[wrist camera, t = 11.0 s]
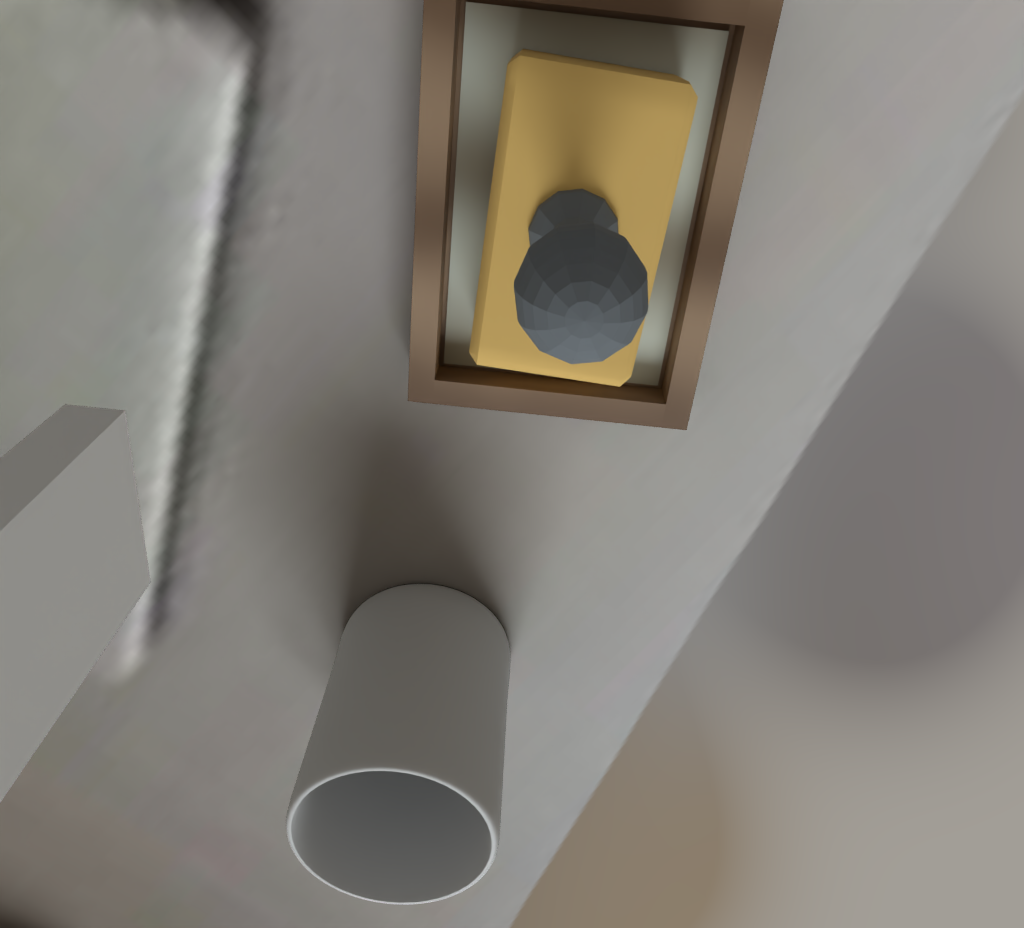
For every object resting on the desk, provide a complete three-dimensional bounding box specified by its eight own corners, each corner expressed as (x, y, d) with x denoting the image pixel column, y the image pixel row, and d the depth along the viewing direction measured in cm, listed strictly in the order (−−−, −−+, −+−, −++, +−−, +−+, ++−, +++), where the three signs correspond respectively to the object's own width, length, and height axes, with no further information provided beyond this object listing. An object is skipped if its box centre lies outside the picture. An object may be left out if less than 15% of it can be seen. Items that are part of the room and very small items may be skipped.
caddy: (435, -44, 27) (425, -49, 25) (766, -7, 27) (785, -8, 25) (416, 376, 34) (407, 401, 32) (677, 403, 34) (686, 429, 32)
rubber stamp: (513, 46, 27) (492, 70, 17) (684, 76, 27) (770, 117, 17) (475, 329, 32) (440, 486, 21) (621, 352, 32) (657, 518, 22)
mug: (382, 554, 39) (328, 733, 29) (540, 623, 40) (539, 813, 31) (295, 715, 44) (226, 911, 35) (438, 769, 46) (410, 971, 36)
